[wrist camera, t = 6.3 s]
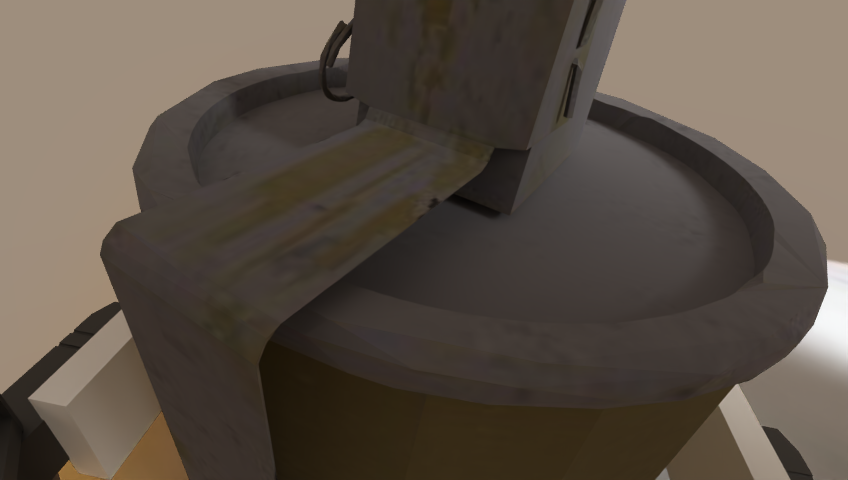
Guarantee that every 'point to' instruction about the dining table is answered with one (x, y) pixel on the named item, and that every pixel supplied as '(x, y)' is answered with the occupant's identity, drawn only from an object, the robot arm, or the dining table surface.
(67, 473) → the dining table surface
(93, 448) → the robot arm
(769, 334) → the canister
